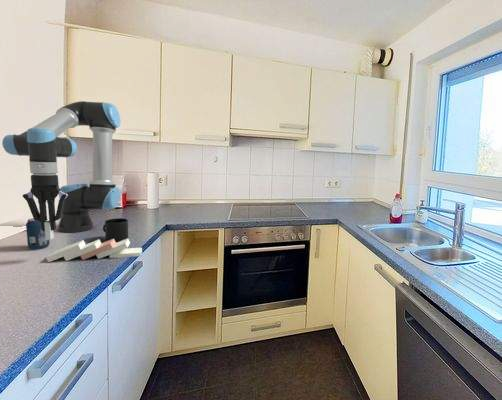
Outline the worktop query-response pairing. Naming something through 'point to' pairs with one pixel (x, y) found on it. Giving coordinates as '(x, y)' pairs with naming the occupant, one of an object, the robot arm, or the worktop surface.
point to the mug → (116, 229)
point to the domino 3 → (99, 249)
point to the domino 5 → (127, 253)
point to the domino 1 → (65, 251)
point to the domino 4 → (115, 248)
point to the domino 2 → (84, 250)
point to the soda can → (36, 235)
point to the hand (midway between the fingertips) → (49, 238)
